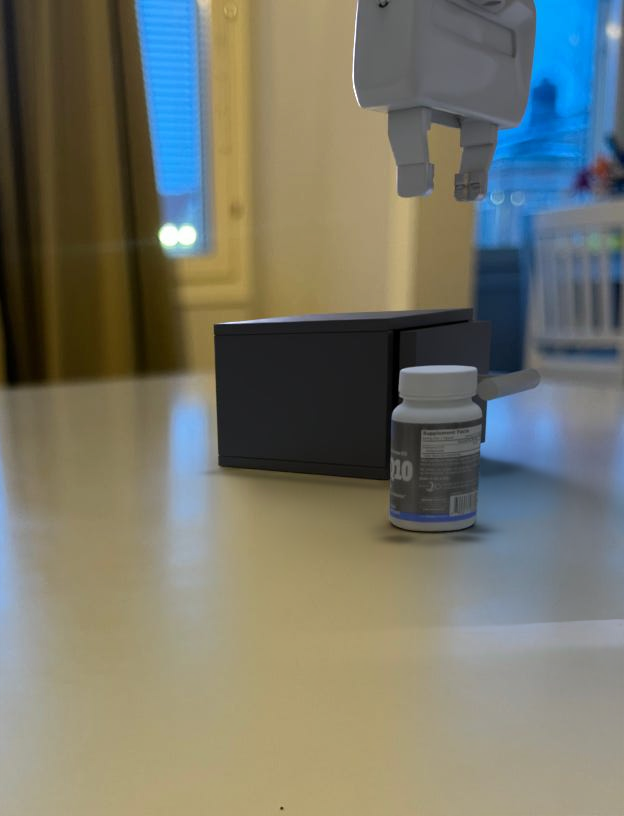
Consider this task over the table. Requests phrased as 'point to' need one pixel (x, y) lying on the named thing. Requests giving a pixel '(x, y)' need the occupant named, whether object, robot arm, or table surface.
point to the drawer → (457, 360)
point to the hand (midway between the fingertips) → (444, 199)
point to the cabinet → (312, 390)
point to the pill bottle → (435, 449)
